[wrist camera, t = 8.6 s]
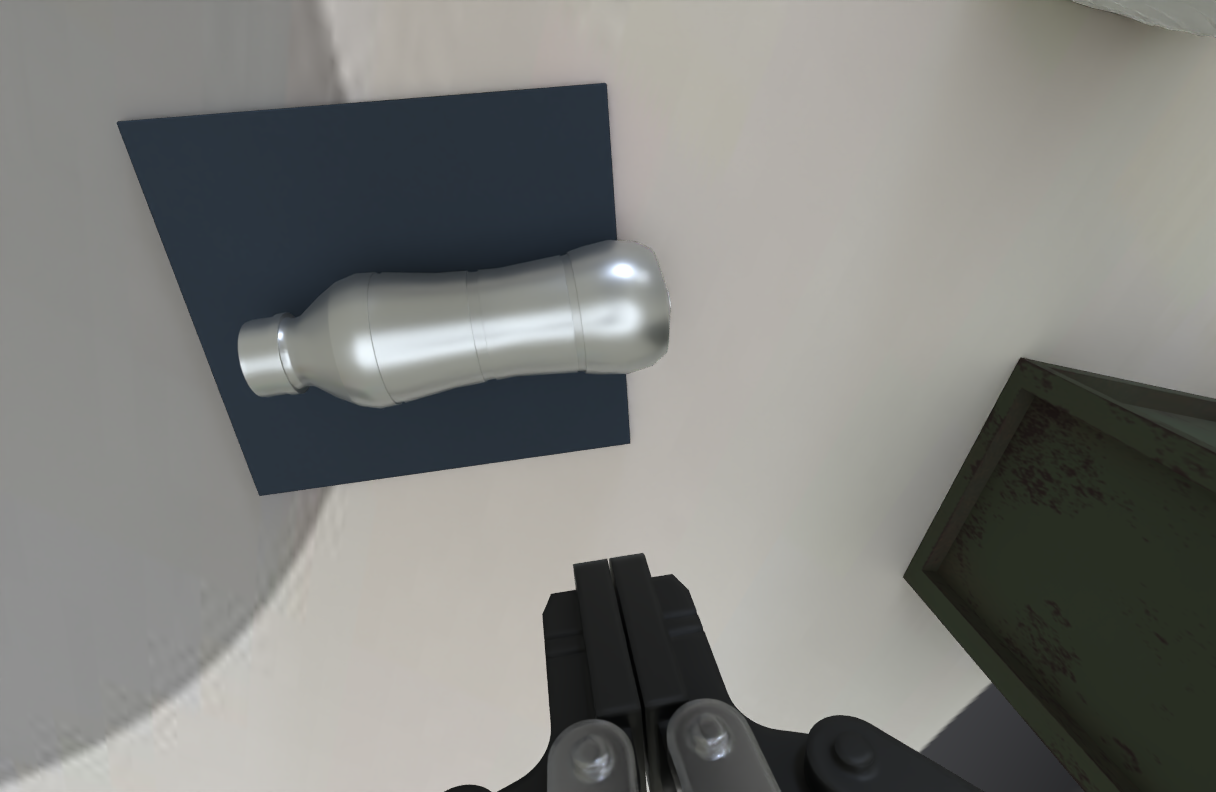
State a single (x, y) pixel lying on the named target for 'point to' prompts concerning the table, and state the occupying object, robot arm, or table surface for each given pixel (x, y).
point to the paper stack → (1165, 13)
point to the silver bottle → (466, 327)
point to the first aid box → (1089, 573)
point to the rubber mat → (382, 259)
